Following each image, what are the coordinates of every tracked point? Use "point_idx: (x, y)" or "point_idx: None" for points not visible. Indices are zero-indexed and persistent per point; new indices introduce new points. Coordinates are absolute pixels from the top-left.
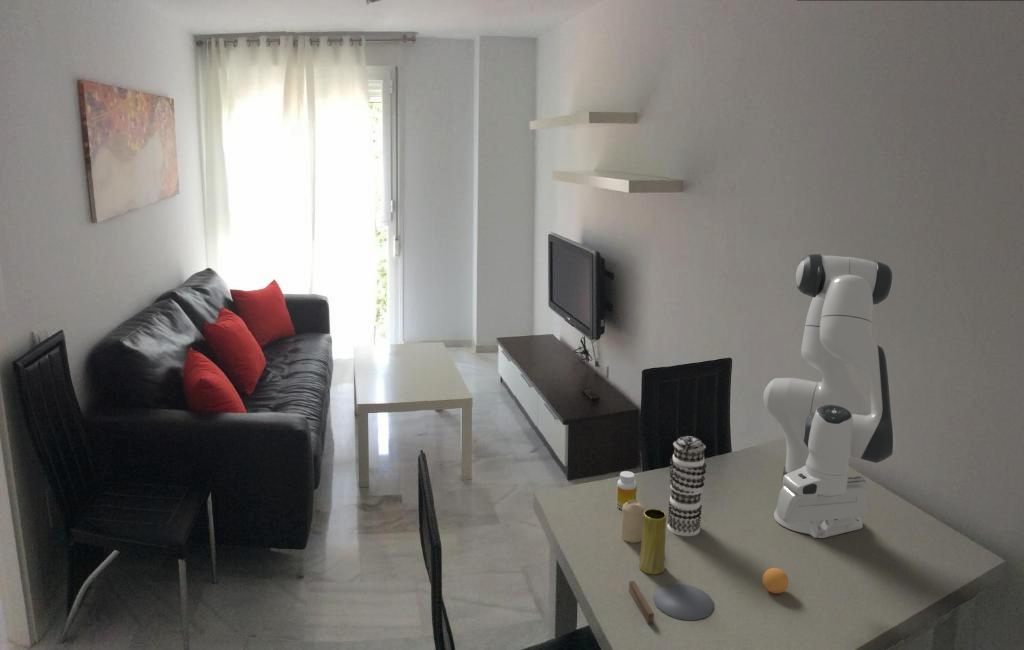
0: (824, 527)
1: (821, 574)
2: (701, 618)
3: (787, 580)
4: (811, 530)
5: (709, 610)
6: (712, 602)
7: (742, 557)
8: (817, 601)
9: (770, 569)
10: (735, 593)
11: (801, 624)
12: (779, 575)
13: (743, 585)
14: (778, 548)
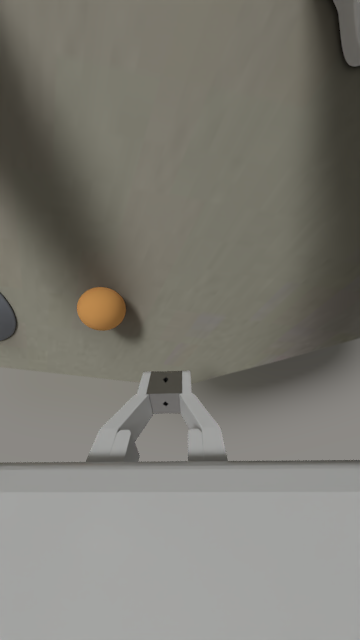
0: (184, 414)
1: (215, 266)
2: (1, 339)
3: (117, 324)
4: (140, 384)
5: (9, 329)
6: (11, 314)
7: (70, 165)
8: (167, 329)
9: (82, 311)
10: (48, 297)
11: (126, 361)
12: (96, 328)
13: (63, 278)
14: (180, 123)
